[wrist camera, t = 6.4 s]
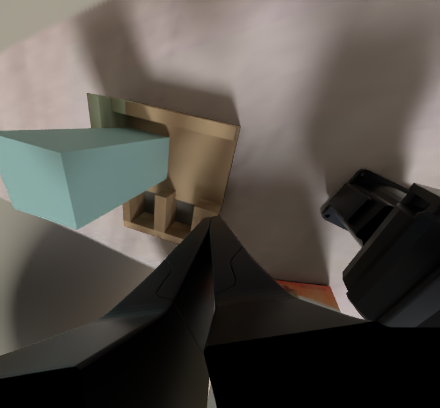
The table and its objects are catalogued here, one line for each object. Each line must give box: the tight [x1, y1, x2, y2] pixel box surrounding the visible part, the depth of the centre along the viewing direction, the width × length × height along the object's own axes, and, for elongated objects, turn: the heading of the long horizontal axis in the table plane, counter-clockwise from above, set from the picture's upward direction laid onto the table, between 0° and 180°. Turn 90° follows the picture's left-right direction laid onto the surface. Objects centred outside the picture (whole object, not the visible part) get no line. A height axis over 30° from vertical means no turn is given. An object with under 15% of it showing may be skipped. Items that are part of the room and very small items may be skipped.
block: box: [0, 127, 170, 230], centre depth 16 cm, size 5×5×12 cm
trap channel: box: [87, 93, 241, 244], centre depth 21 cm, size 14×15×5 cm
